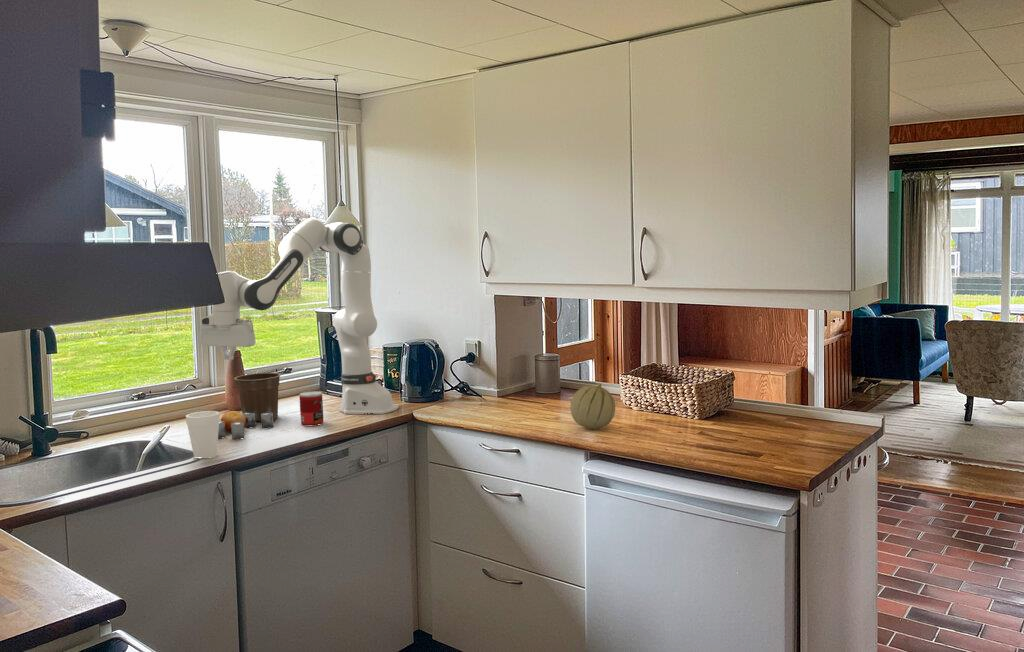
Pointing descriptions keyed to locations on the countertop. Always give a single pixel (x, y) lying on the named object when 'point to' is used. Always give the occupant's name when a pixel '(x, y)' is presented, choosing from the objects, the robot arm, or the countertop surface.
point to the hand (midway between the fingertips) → (228, 359)
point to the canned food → (311, 408)
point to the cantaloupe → (592, 407)
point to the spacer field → (238, 427)
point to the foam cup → (203, 432)
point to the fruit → (232, 419)
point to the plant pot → (259, 393)
